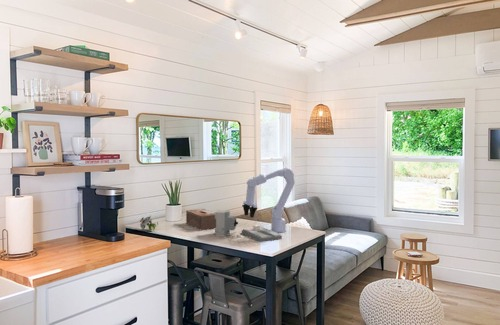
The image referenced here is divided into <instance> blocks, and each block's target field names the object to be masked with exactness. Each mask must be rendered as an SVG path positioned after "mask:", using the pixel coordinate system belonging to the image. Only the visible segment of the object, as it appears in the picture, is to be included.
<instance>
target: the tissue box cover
mask: <svg viewBox="0 0 500 325" xmlns="http://www.w3.org/2000/svg"><path fill="white" fill-rule="evenodd" d="M185 211H186V214H185V217H186V218H185V221H186V222H185V223H186V224H187V225H189V226H191V227H193V228H195V227H196V228H195V229H198V230H200V231H207V229H209V230H215V229H214V228H216V219H215V212H214V211H212V210H208V209H206V208H199V209H198V208H197V209H186V210H185Z"/></svg>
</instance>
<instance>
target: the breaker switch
mask: <svg viewBox="0 0 500 325" xmlns="http://www.w3.org/2000/svg"><path fill="white" fill-rule="evenodd" d="M252 227H253V228H252V229H253V230H255V231H260V227H261V225H259V224H253V226H252Z"/></svg>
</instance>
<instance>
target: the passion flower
mask: <svg viewBox="0 0 500 325" xmlns="http://www.w3.org/2000/svg"><path fill="white" fill-rule="evenodd" d="M152 220H153V218H152V215H149V216H147V217H141V219H140V220H139V223H140V224H139V225H140V228H141V229H140V231H144V229H145V228H146V227H147V228H148V231H149V232H150V233H151V232H152V231H154V230H155V229H156V227H157V226H159V222H154V223H153V222H152Z"/></svg>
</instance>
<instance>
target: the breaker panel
mask: <svg viewBox="0 0 500 325" xmlns="http://www.w3.org/2000/svg"><path fill="white" fill-rule="evenodd" d="M241 234H243V235H245V236H246V237H249V238H252V239H254V240H255V241H257V242H259V243H260V242H261V243H262V242H268V241H274V240H275V241H276V240H281V239H282V238H283V236H282V234H280V233H276V232H273V231H271V229H268V228H265V227H262V226H260V231H255V230H253V228H249V227H247V228H242V229H241Z"/></svg>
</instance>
